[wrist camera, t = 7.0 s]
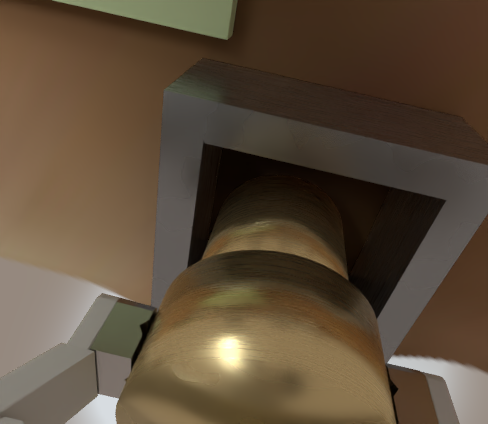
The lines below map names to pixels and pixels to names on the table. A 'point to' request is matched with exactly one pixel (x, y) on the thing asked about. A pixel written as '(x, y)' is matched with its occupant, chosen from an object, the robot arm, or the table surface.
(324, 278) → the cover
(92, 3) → the pad
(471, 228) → the box
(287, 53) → the table surface
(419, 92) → the table surface
